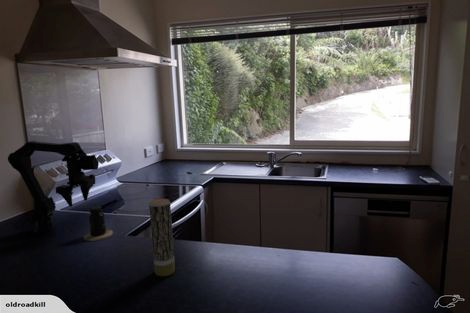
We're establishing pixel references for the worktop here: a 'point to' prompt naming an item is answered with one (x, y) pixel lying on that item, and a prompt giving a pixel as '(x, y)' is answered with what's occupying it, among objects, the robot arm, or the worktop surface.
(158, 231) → the pale patterned cylinder
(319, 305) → the worktop surface
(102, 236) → the cork trivet
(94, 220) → the supplement bottle
